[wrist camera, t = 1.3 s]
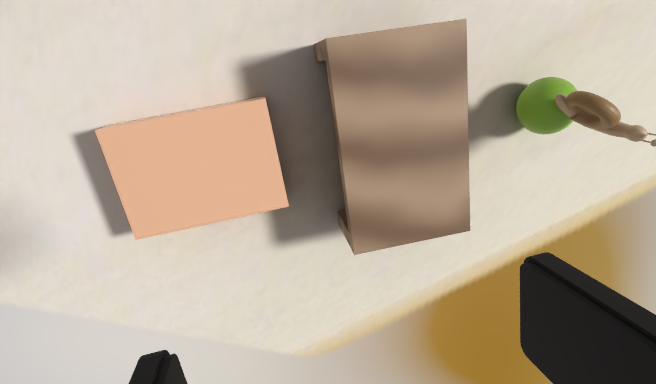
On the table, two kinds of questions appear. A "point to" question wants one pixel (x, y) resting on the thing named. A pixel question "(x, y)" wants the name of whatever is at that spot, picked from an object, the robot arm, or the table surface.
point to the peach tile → (195, 166)
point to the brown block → (401, 132)
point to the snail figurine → (571, 110)
